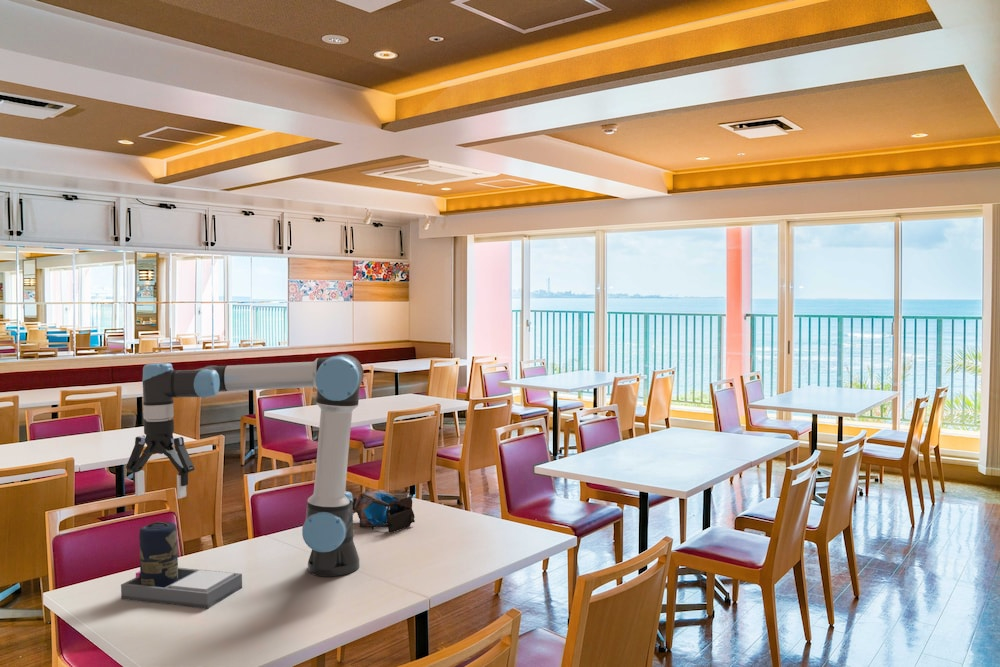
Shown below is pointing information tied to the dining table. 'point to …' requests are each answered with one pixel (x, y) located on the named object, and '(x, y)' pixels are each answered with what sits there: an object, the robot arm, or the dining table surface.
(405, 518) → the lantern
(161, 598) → the grey divided tray
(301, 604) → the dining table surface
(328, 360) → the robot arm
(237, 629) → the dining table surface
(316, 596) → the dining table surface
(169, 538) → the canister
